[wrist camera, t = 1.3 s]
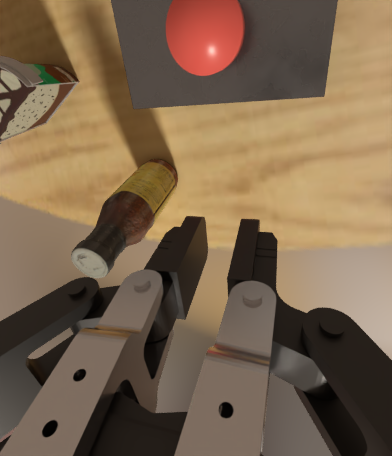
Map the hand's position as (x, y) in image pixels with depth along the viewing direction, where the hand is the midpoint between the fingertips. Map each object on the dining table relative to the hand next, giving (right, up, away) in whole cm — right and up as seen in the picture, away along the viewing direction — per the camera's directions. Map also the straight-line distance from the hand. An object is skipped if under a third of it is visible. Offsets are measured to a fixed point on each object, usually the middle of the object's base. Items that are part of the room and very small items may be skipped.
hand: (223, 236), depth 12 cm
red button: (+1, +19, +15) cm, 24 cm away
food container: (-22, +21, +27) cm, 41 cm away
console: (+2, +22, +18) cm, 28 cm away
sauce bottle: (-7, +8, +31) cm, 32 cm away
